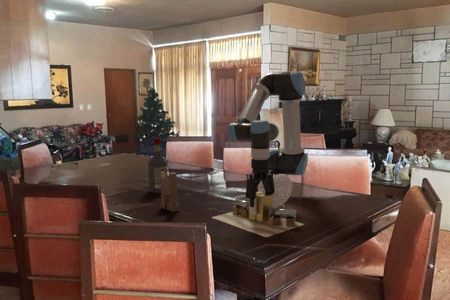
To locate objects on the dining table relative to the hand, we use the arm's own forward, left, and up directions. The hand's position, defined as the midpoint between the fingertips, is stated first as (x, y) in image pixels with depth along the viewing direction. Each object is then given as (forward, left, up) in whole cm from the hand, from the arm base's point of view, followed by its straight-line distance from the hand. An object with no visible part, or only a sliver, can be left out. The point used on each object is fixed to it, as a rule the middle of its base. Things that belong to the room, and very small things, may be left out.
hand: (260, 212), depth 166 cm
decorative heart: (-18, -9, -4) cm, 21 cm away
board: (+2, 0, -4) cm, 5 cm away
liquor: (+3, -78, -4) cm, 78 cm away
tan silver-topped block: (0, -10, -3) cm, 11 cm away
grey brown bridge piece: (-3, +10, -3) cm, 11 cm away
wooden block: (+18, -42, -4) cm, 46 cm away
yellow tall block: (0, 0, -3) cm, 3 cm away
